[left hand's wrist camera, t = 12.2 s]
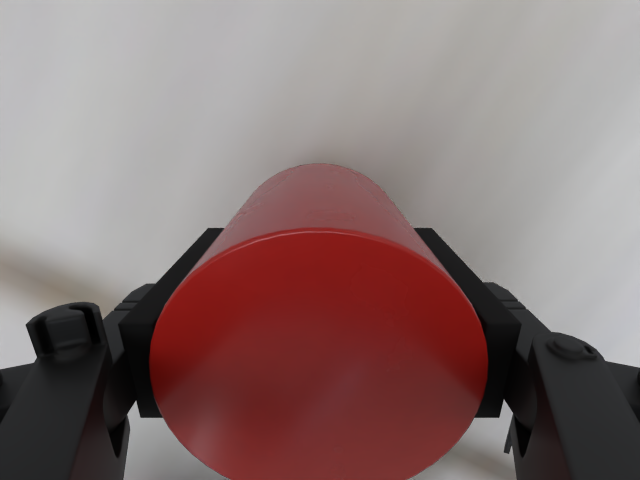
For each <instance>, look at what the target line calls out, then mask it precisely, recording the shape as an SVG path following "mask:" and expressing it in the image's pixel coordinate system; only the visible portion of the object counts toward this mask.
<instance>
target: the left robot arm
mask: <svg viewBox="0 0 640 480" xmlns="http://www.w3.org/2000/svg"><path fill="white" fill-rule="evenodd" d="M224 229H225V228H208V229H207V230H206V231H205V232H204V233H203V234H202V235H201V236H200V237H199V238H198V239H197V241H196V242H195V243H194V244H193V245H192V246H191V247H190V248H189V249H188V250H187V251H186V252H185V253H184V254H183V255H182V256H181V258H180V259H179V260H178V261H177V262H176V263H175V264H174V265H173V266H172V267H171V268H170V269H169V270H168V271H167V272H166V273H165V274H164V276H163V277H162V278H161V279H160V280H159V281H158V282H157V283H156V284H145V285H143V286H141V287H140V288H138V289H136V290H134V291H132V292H131V293H130V294H129V295H128V296H127V297H126V298H125V299H124V300H123V301H122V303H120V304H119V305H118V306H117V307H116V308H115V309H114V311H111V312H110V313H109V314H108V315H107V316H106V317H105V318H104V319H103V320H102V316H101V312H100V309H99V306H97V305H96V304H94V303H89V302H77V303H69V304H65V305H61V306H57V307H54V308H52V309H49V310H46V311H44V312H42V313H40V314H39V315H37V316H35V317H33V318H32V319H31V320H30V321H29V322H28V323H27V324H26V327H27V330H28V333H29V336H30V339H31V341H32V344H33V347H34V350H35V353H36V355H37V359H36V360H35V362H34V363H31V364H26V365H21V366H16V367H11V368H5V369H0V480H123V477H124V470H125V463H126V456H127V449H128V441H129V434H130V425H129V420H128V416H127V414H128V412H129V410H130V409H131V407H132V406H133V404H134V403H135V401H137V405H138V409H139V413H140V417H141V418H163V417H162V415H161V413H160V411H159V408H158V406H157V403H156V401H155V398H154V395H153V391H152V386H151V382H150V372H149V355H150V346H151V339H152V336H153V332H154V329H155V326H156V322H157V320H158V318H159V316H160V314H161V312H162V310H163V308H164V306H165V304H166V302H167V301H168V300H169V298H170V297H171V295H172V294H173V292H174V291H175V290H176V288H177V287H178V286H179V284H180V283H181V282H182V281H183V279H184V278H185V277H186V276H187V274H188V273H189V272H190V271H191V269H192V268H193V267H194V266H195V265H196V263H197V262H198V261H199V260H200V258H201V257H202V256H203V255H204V253H205V252H206V251H207V250H208V248H209V247H210V246H211V245H212V243H213V242H214V241H215V240H216V238H217V237H218V236H219V235H220V233H221V232H222V231H223V230H224ZM413 229H414V230H415V231H416V232H417V234H418V235H419V236H420V237H421V239H422V240H423V241H424V243H425V244H426V245H427V246H428V248H429V249H430V250H431V251H432V253H433V254H434V255H435V256H436V258H437V259H438V260H439V262H440V263H441V264H442V265H443V267H444V268H445V269H446V270H447V272H448V273H449V274H450V275H451V277H452V278H453V279H454V281H455V282H456V283H457V284H458V286H459V287H460V288H461V290H462V291H463V292H464V294H465V295H466V297H467V298H468V300H469V301H470V302H471V304H472V306H473V308H474V310H475V312H476V314H477V316H478V318H479V320H480V322H481V325H482V329H483V332H484V335H485V339H486V345H487V353H488V376H487V383H486V387H485V392H484V396H483V399H482V401H481V404H480V407H479V409H478V412H477V414H476V415H475V417H474V418H499V416H500V412H501V408H502V404H503V400H504V399H505V401H506V403H507V404H508V406H509V407H510V409H511V410H512V412H513V416H512V420H511V424H510V427H509V431H508V435H507V439H506V443H505V448H504V453H508V454H509V452H510V448H511V446H512V448H513V455H514V462H515V469H516V476H517V480H640V368H638V367H633V366H628V365H622V364H617V363H612V362H607V361H605V360H604V358H603V356H602V355H601V354H600V353H599V352H598V351H597V350H596V349H595V348H594V347H592V346H591V345H589V344H588V343H586V342H584V341H582V340H580V339H577V338H575V337H573V336H569V335H566V334H562V333H556V332H551V331H550V330H549V329H548V328H547V327H546V326H545V325H543V324H542V323H541V322H540V321H539V320H538V319H537V318H536V317H535V316H534V315H533V314H532V313H531V312H530V311H529V310H528V309H526V307H525V306H524V305H523V304H522V303H521V302H518V300H517V299H516V298H515V297H514V296H513V295H512V294H511V293H510V292H509V291H508V290H506V289H504V288H503V287H501V286H499V285H497V284H495V283H493V282H482V281H481V280H480V279H479V278H478V277H477V276H476V275H475V274H474V273H473V272H472V270H471V269H470V268H469V267H468V266H467V265H466V264H465V263H464V262H463V261H462V260H461V259H460V258H459V257H458V256H457V255H456V254H455V252H454V251H453V250H452V249H451V248H450V247H449V246H448V245H447V244H446V243H445V242H444V241H443V240H442V239H441V238H440V237H439V236H438V234H437V233H436V232H435V231H434V230H433V229H432V228H413Z"/></svg>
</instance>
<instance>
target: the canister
mask: <svg viewBox="0 0 640 480" xmlns="http://www.w3.org/2000/svg"><path fill="white" fill-rule="evenodd" d="M149 372H150V382H151V386H152V391H153V395H154V398H155V401H156V403H157V406H158V408H159V411H160V413H161V415H162V417H163V418H164V420H165V422H166V424H167V425H168V427H169V429H170V430H171V431H172V432H173V434H174V435H175V436H176V438H177V439H178V440H179V442H180V443H181V444H182V445H183V446H184V447H185V448H186V449H187V450H188V451H189V452H190V453H191V454H192V455H194V456H195V457H196V458H197V459H199V460H200V461H201V462H202V463H204V464H205V465H206V466H208V467H209V468H211V469H213V470H214V471H216V472H217V473H219V474H221V475H222V476H224V477H226V478H228V479H231V480H407V479H409V478H411V477H413V476H415V475H417V474H419V473H420V472H422V471H423V470H425V469H426V468H428V467H430V466H431V465H433V464H434V463H435V462H436V461H438V460H439V459H440V458H441V457H443V456H444V455H445V454H446V453H447V452H448V451H449V450H450V449H451V448H452V447H453V446H454V445H455V444H456V443H457V442H458V441H459V440H460V438H461V437H462V436H463V434H464V433H465V432H466V430H467V429H468V428H469V426H470V424H471V423H472V421H473V419H474V417H475V415H476V414H477V412H478V409H479V407H480V404H481V401H482V399H483V396H484V392H485V387H486V383H487V376H488V353H487V345H486V339H485V335H484V332H483V329H482V325H481V322H480V320H479V318H478V316H477V314H476V312H475V310H474V308H473V306H472V304H471V302H470V301H469V300H468V298H467V297H466V295H465V294H464V292H463V291H462V290H461V288H460V287H459V286H458V284H457V283H456V282H455V281H454V279H453V278H452V277H451V275H450V274H449V273H448V272H447V270H446V269H445V268H444V267H443V265H442V264H441V263H440V262H439V260H438V259H437V258H436V256H435V255H434V254H433V253H432V251H431V250H430V249H429V248H428V246H427V245H426V244H425V243H424V241H423V240H422V239H421V237H420V236H419V235H418V234H417V232H416V231H415V230H414V229H413V227H412V226H411V225H410V224H409V222H408V221H407V220H406V218H405V217H404V216H403V215H402V213H401V212H400V211H399V210H398V208H397V207H396V206H395V205H394V203H393V202H392V201H391V199H390V198H389V197H388V196H387V194H386V193H385V192H384V191H383V190H382V189H381V188H380V187H379V186H378V185H377V184H375V183H374V182H373V181H372V180H370V179H369V178H367V177H366V176H364V175H362V174H360V173H359V172H356V171H354V170H351V169H349V168H346V167H342V166H338V165H332V164H307V165H300V166H297V167H293V168H289V169H287V170H285V171H282V172H280V173H278V174H276V175H275V176H273V177H271V178H270V179H268V180H267V181H266V182H264V183H263V184H262V185H261V186H259V187H258V189H257V190H256V191H255V192H254V193H253V194H252V195H251V196H250V197H249V199H248V200H247V201H246V202H245V204H244V205H243V206H242V207H241V209H240V210H239V211H238V212H237V214H236V215H235V216H234V217H233V219H232V220H231V221H230V222H229V224H228V225H227V226H226V227H225V229H224V230H223V231H222V232H221V233H220V235H219V236H218V237H217V238H216V240H215V241H214V242H213V243H212V245H211V246H210V247H209V248H208V250H207V251H206V252H205V253H204V255H203V256H202V257H201V258H200V260H199V261H198V262H197V263H196V265H195V266H194V267H193V268H192V269H191V271H190V272H189V273H188V274H187V276H186V277H185V278H184V279H183V281H182V282H181V283H180V284H179V286H178V287H177V288H176V290H175V291H174V292H173V294H172V295H171V297H170V298H169V300H168V301H167V302H166V304H165V306H164V308H163V310H162V312H161V314H160V316H159V318H158V320H157V322H156V326H155V329H154V332H153V336H152V339H151V346H150V355H149Z"/></svg>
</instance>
